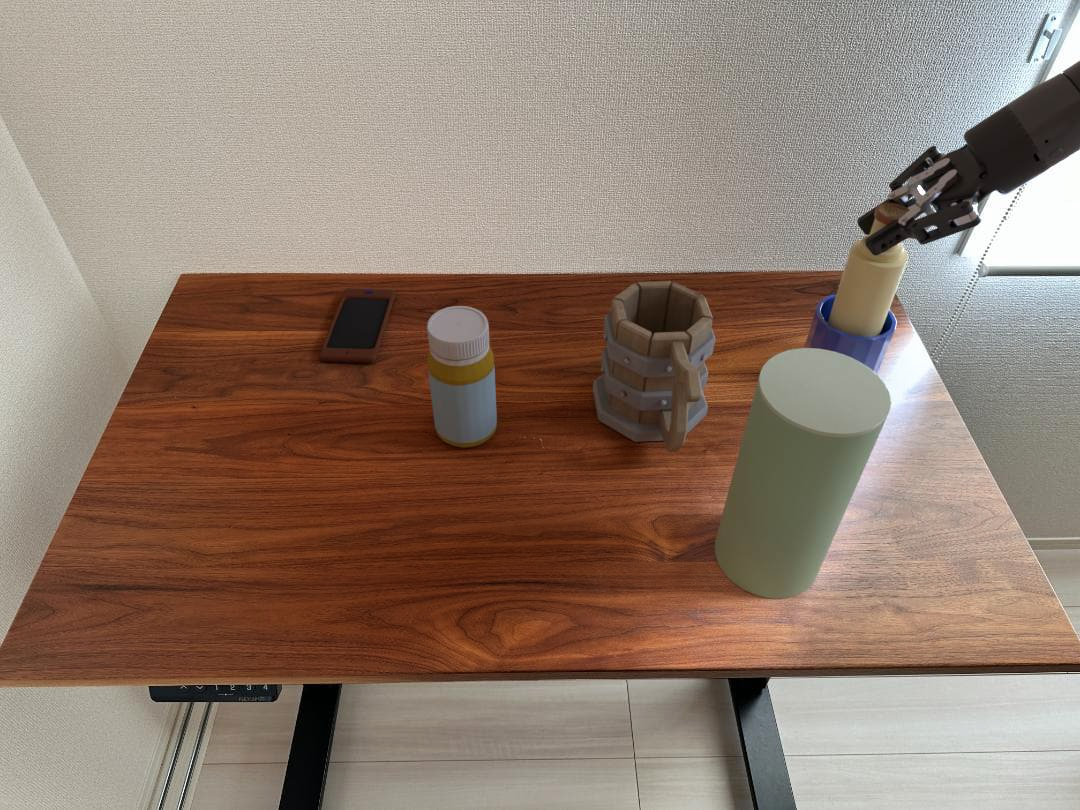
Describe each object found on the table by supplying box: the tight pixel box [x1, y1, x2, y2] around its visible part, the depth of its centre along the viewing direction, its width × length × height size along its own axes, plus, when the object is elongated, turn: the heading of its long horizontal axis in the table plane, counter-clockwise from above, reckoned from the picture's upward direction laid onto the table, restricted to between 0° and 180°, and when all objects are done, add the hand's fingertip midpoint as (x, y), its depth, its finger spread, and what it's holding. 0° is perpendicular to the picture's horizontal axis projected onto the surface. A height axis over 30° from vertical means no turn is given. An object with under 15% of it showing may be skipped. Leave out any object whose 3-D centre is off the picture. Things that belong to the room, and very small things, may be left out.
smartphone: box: [318, 288, 397, 364], centre depth 101 cm, size 7×1×15 cm
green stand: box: [714, 347, 892, 600], centre depth 68 cm, size 10×10×22 cm
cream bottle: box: [827, 203, 909, 337], centre depth 87 cm, size 6×6×16 cm
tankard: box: [592, 280, 716, 453], centre depth 83 cm, size 20×13×15 cm, turn 4°
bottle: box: [426, 305, 498, 449], centre depth 83 cm, size 7×7×15 cm
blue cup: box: [803, 293, 898, 375], centre depth 93 cm, size 9×9×8 cm
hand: (865, 237), depth 84 cm, fingers closed on cream bottle, 3 cm apart
